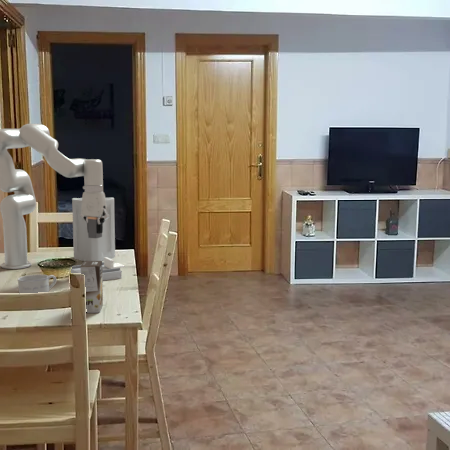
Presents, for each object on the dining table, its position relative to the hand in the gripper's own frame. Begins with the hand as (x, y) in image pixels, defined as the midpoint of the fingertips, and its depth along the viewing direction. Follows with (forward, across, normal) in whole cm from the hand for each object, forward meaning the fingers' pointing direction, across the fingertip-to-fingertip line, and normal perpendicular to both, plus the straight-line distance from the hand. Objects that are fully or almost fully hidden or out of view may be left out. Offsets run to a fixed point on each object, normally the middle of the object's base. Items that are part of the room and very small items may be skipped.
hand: (95, 232), depth 264 cm
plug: (+2, 0, 0) cm, 2 cm away
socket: (+18, +3, -5) cm, 19 cm away
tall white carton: (+18, -18, +22) cm, 34 cm away
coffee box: (+18, +30, -43) cm, 56 cm away
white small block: (+14, +8, +2) cm, 16 cm away
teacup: (+18, +4, -40) cm, 44 cm away
